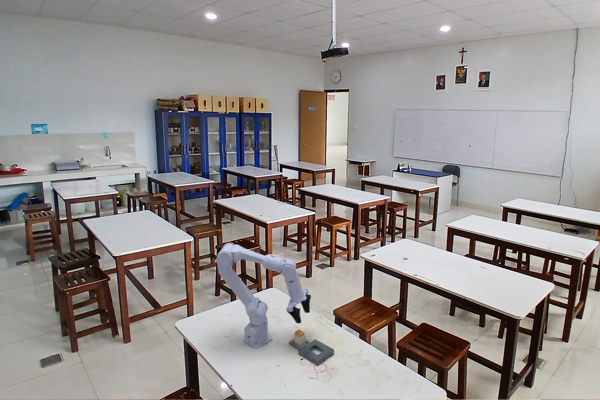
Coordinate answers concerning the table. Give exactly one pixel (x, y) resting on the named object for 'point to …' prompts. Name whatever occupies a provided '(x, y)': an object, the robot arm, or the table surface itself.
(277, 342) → the table surface
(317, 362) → the port block
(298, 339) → the plug
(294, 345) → the grey mounting plate
